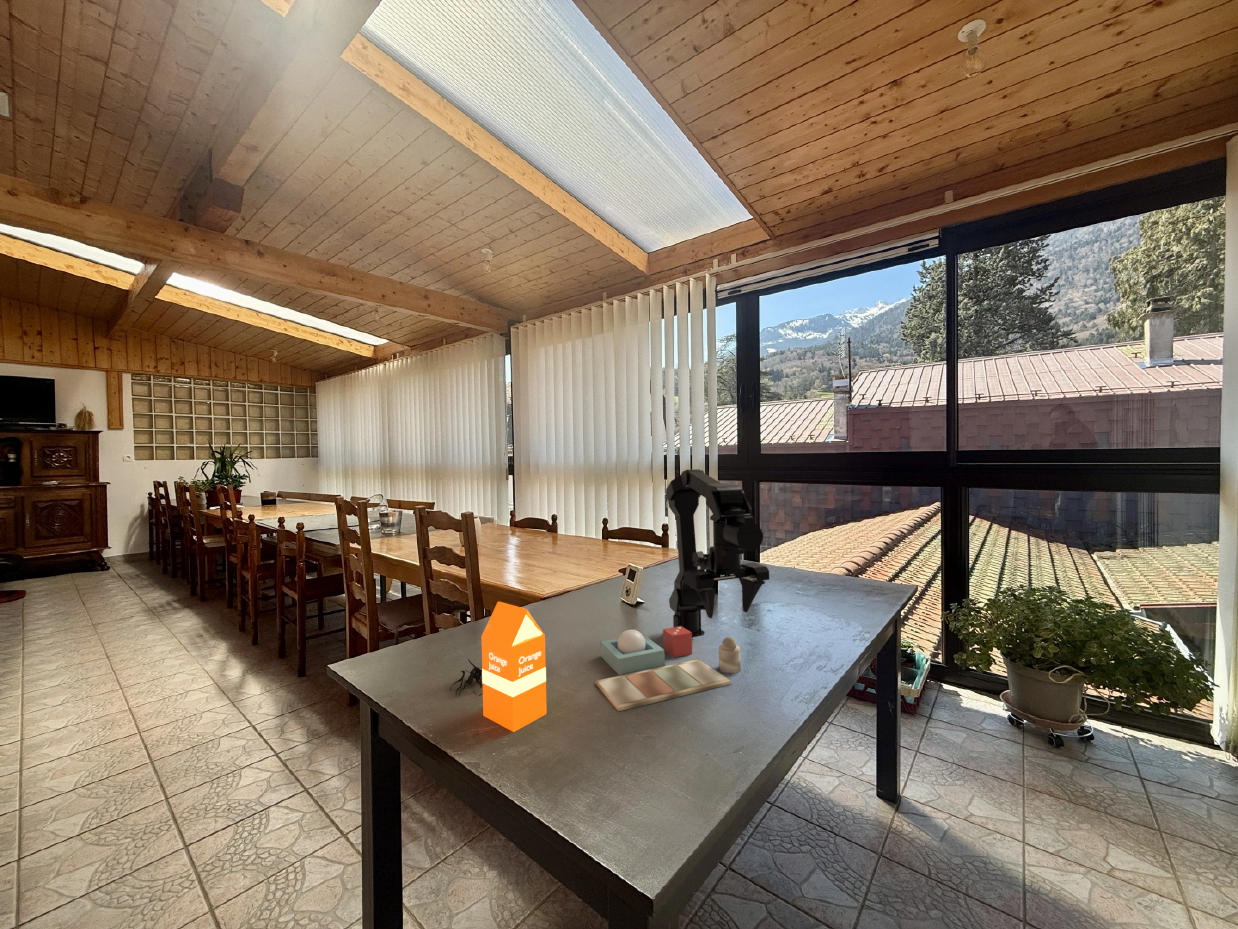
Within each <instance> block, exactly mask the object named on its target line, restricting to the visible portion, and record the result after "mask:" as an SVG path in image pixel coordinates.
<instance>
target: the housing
mask: <svg viewBox="0 0 1238 929" xmlns="http://www.w3.org/2000/svg"><path fill="white" fill-rule="evenodd" d="M641 634H642V635H643V637H644V639H645V643H646V646H645V650H644V651H639V652H634V653H629V654H624V655H623V654H622V653H621V652H620V651H619V650H618V639H619V637H618V638H611V639H607V640H602V641H600V644H599V645H600V657H601V658H602V659H603V661H605V662H606V664H608V666H610V668H612V670H614V672H616V673H617V675H618V676H621V675H626V674H630V673H635V672H640V671H645V670H649V669H654V668H659V667H664V666H666V664H665V662H666V660H665V651H664V649H663V647H661V646H660V645H658V644H657V643H655V642H654V641H653V640H651V639H650V638H649V637H648V636H646V635H645V634H643V633H641Z"/></svg>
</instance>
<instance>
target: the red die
mask: <svg viewBox="0 0 1238 929" xmlns="http://www.w3.org/2000/svg"><path fill="white" fill-rule="evenodd" d="M662 649H664V652H665V653H667V654H668V655H669V656H671V657H672V658H678V657H681V656H682V657H683V656H688V655H692V654H693V636H692V632H690V631H688V630H687V629H685V628H683V627H682V626H678V627H673V626H672V627H668V628H663V629H662Z"/></svg>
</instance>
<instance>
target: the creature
mask: <svg viewBox="0 0 1238 929" xmlns="http://www.w3.org/2000/svg"><path fill="white" fill-rule="evenodd" d="M467 660H468V662H469V663H470V665H471V666H472V667H473V668H472V669H471V671H469V670H467V669H465V670H461V671H460V673H462V676H461V678H459V679H457V680H456V681H454V683H453V684H451V686H450V688H449V689H450V691H451V692H452V687H453V686H454V685H455V684H457V683H459V682H460V686H459V687H458V688H456V689H455V690H454V691H456V692H455V695H457V694H458V696H460V694H461V692H462V691H464V690H466V687H468V686H470V685H473V683H474V680H475V682H476V683H477V684H478V685H479V688H478V690H481V688H482V689H483V683H482V678H481V677H482V669H481V668H480V667H479V666H476V665H475V664H474V663H473V662H472V661H471V660H470V658H467ZM465 671H466V672H465ZM466 673H467V679H464V678H465V676H466ZM468 673H469V675H468ZM463 682H464V684H463ZM462 686H463V687H462ZM458 691H459V692H458ZM472 692H473V693H475V694H474V695H477V693H476V692H475V690H473V691H472ZM481 695H483V690H482V691H481V693H480V694H479V695H478V697H480V696H481Z"/></svg>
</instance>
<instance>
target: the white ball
mask: <svg viewBox="0 0 1238 929" xmlns="http://www.w3.org/2000/svg"><path fill="white" fill-rule="evenodd" d="M642 634H643V633H641V632H640V631H638V630H636V629H627V630H625V631H623V632H622V633H621V634H620V636H619V637H618V638H619V639H618V650H619V651H620V652H621V653H622V654H623V655H624V654H629V653H634V652H639V651H644V650H645V646H646V643H645V639H644V637H643V635H644V634H643V635H642Z"/></svg>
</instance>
